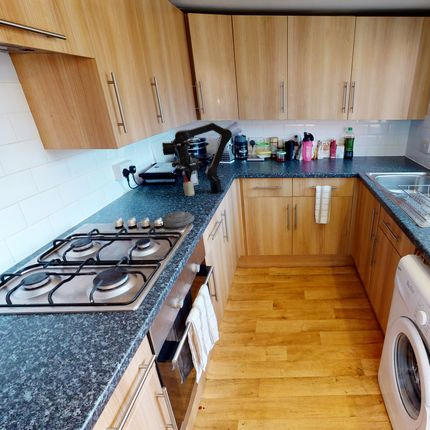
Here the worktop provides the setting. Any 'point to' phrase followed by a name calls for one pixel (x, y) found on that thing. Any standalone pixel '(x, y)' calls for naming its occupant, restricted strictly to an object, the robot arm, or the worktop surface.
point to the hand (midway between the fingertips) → (187, 180)
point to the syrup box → (194, 177)
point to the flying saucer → (177, 219)
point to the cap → (185, 179)
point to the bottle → (188, 188)
